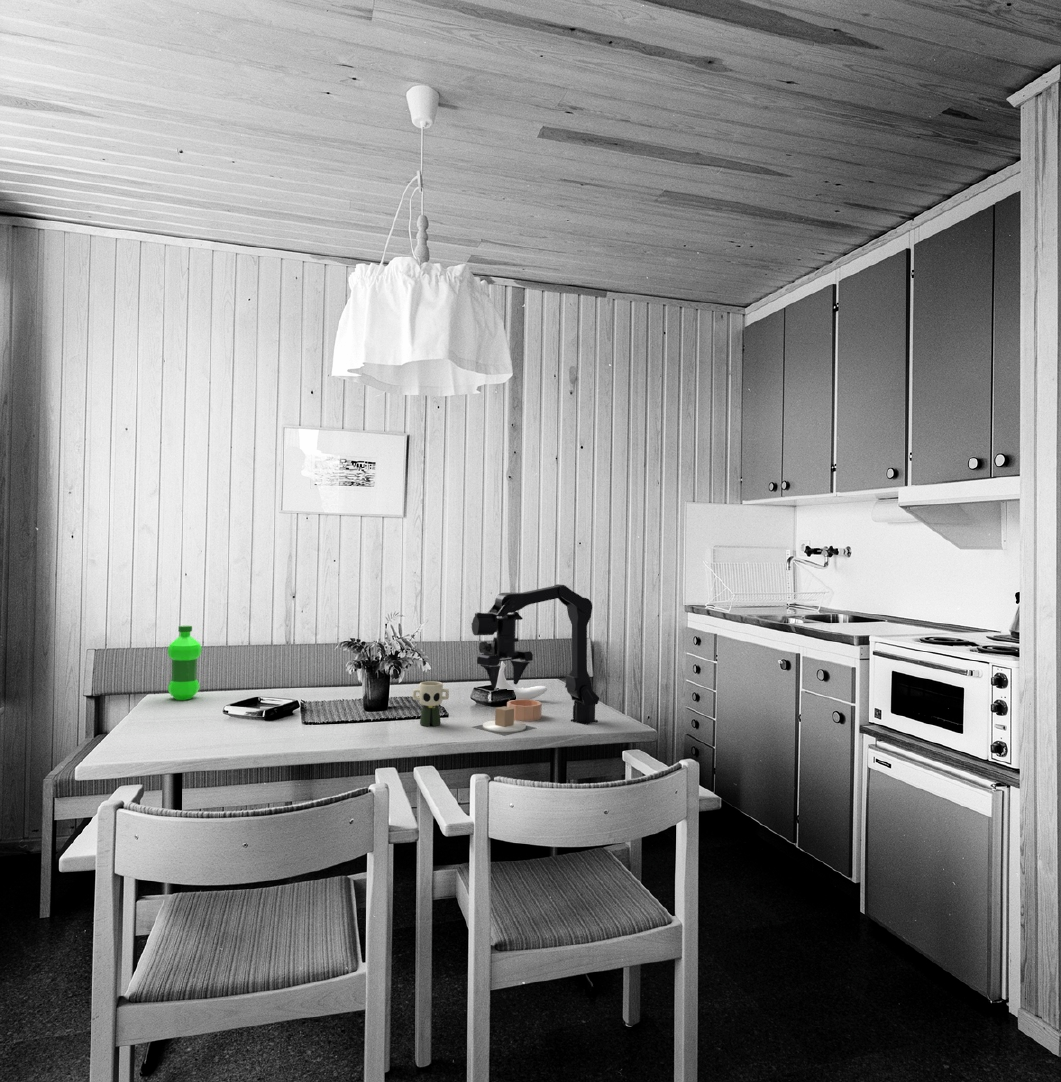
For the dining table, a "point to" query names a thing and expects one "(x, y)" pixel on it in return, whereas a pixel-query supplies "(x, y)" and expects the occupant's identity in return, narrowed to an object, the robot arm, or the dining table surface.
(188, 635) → the plastic bottle
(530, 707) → the faceted tan prism
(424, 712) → the character mug
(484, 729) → the mat
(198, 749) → the dining table surface
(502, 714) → the lid
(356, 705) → the dining table surface
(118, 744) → the dining table surface
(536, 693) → the banana
